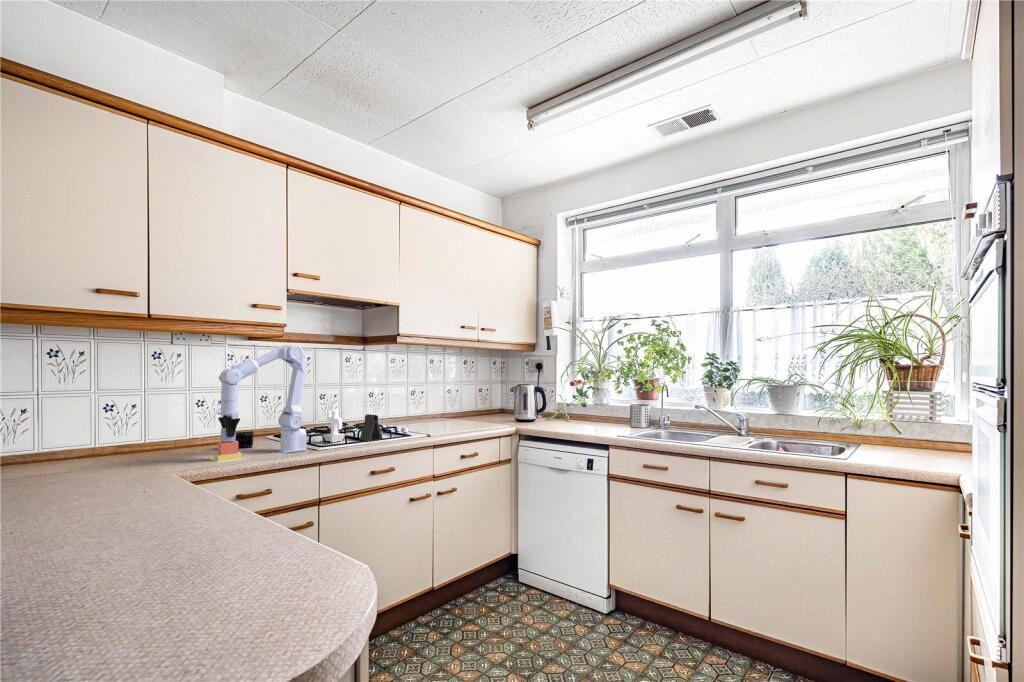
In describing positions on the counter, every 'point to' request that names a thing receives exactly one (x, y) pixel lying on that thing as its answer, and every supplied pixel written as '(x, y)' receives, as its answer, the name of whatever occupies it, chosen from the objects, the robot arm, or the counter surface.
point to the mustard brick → (227, 457)
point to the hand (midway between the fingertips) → (228, 436)
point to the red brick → (227, 447)
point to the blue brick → (224, 436)
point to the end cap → (244, 439)
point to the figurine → (334, 426)
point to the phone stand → (371, 429)
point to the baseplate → (226, 460)
